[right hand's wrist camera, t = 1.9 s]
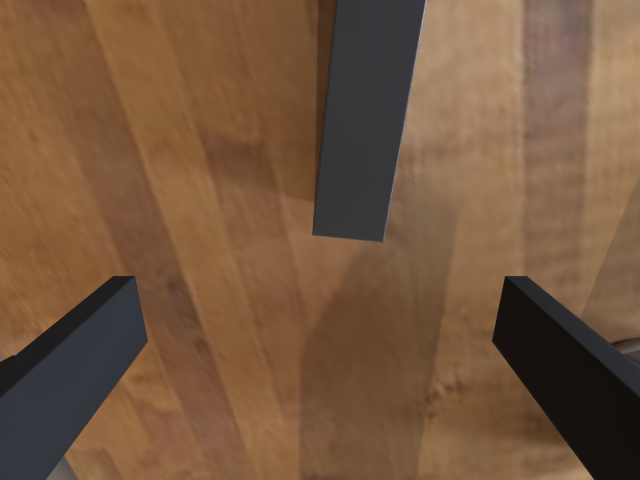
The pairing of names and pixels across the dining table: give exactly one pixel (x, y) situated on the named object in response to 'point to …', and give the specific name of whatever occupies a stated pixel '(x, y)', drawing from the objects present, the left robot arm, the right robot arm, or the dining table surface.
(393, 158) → the beam
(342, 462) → the dining table surface
